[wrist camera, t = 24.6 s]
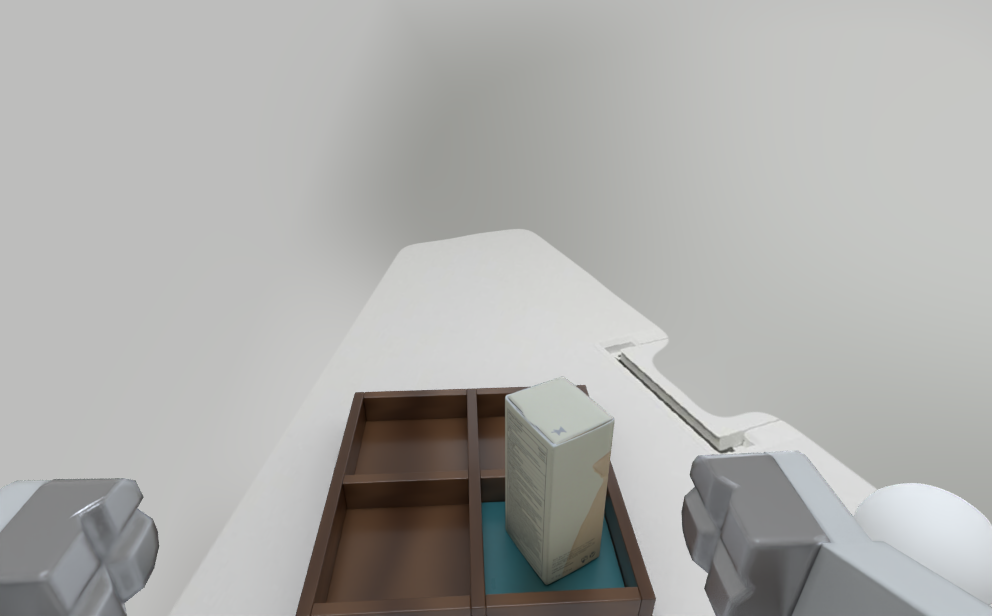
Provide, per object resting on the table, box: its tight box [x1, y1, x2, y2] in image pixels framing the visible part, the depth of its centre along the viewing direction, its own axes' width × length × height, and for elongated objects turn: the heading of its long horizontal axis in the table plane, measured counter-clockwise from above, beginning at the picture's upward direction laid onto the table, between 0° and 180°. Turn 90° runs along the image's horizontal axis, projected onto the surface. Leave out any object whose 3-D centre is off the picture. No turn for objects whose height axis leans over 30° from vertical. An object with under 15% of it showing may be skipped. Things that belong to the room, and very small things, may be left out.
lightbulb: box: [853, 483, 992, 605], centre depth 29 cm, size 6×6×11 cm
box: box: [505, 377, 614, 585], centre depth 34 cm, size 5×4×11 cm
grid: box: [296, 385, 656, 616], centre depth 39 cm, size 19×19×3 cm
